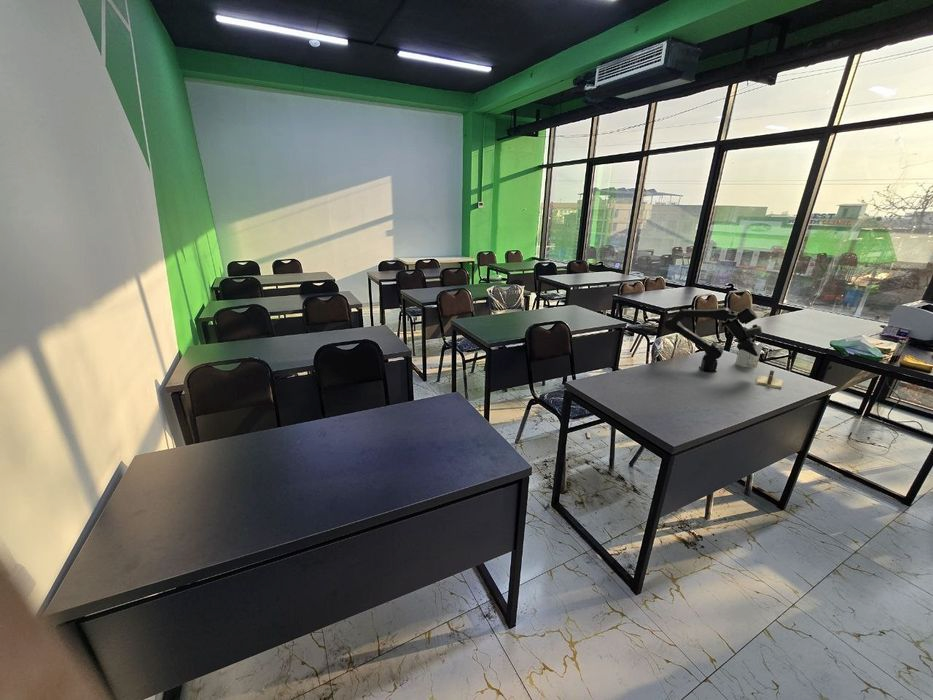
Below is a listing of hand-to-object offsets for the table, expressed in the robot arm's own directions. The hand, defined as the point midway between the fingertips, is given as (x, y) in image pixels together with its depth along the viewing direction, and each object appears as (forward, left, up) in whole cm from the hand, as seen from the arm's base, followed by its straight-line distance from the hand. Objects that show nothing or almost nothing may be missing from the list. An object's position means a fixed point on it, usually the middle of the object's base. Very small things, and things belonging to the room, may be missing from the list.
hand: (757, 354), depth 197 cm
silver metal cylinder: (-1, +1, -7) cm, 7 cm away
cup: (+8, +21, -14) cm, 26 cm away
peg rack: (+6, -4, -13) cm, 15 cm away
